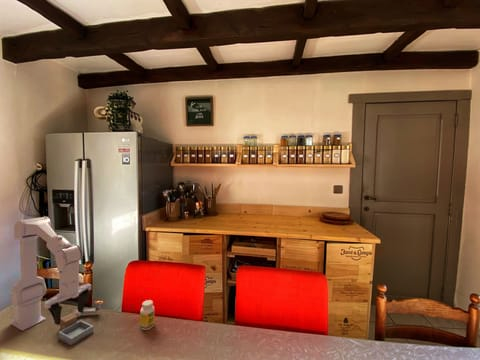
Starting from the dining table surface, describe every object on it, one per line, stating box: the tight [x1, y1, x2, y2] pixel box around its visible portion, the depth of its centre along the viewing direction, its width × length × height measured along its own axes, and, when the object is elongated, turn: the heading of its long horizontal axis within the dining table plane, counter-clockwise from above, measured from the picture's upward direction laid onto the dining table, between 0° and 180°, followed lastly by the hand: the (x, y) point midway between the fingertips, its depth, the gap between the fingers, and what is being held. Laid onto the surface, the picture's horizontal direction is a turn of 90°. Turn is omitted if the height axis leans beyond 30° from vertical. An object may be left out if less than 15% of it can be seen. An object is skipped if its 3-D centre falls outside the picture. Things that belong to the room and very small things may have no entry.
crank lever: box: [71, 300, 104, 319], centre depth 102 cm, size 12×4×6 cm, turn 100°
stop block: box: [59, 312, 78, 331], centre depth 93 cm, size 4×4×4 cm
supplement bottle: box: [139, 299, 155, 331], centre depth 95 cm, size 5×5×10 cm
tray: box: [58, 319, 94, 347], centre depth 89 cm, size 8×8×2 cm
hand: (69, 317), depth 84 cm, fingers open, 7 cm apart
